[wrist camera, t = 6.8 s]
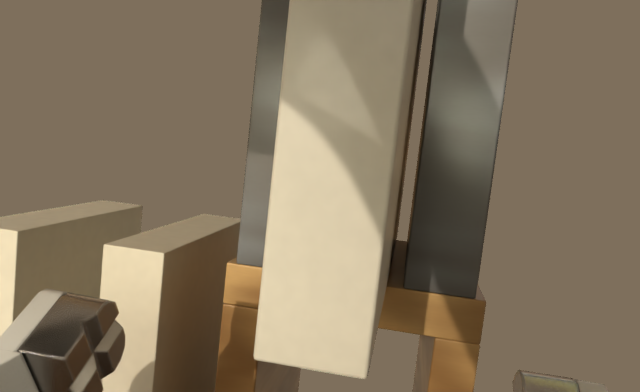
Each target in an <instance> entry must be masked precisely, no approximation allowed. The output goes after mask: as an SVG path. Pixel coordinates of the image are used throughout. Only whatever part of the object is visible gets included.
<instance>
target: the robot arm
mask: <svg viewBox="0 0 640 392" xmlns="http://www.w3.org/2000/svg"><path fill="white" fill-rule="evenodd" d="M118 314H119V311H118V308H117V305H116V302H114V301H109V300H104V299H99V298H95V297H90V296H85V295H80V294H75V293H70V292H64V291H59V290H53V289H48V288H46V289H44V290H42V291H40V292H39V293H38V294H37V295H36V296H35V297H34V298H33V299H32V301H31V302H30V303H29V304H28V305H27V306H26V308H25V309H24V310H23V311H22V312H21V313H20V314H19V316H18V317H17V318H16V319H15V320H14V321H13V323H12V324H11V325H10V326H9V327H8V328H7V330H6V331H5V332H4V333H3V334H2V335H1V337H0V392H102V391H103V383H102V379H103V378H104V377H106V376H108V375H109V374H111V373H112V372H114V371H115V369H116V368H117V366H118V364H119V362H120V361H121V358H122V355H123V351H124V348H125V333H124V329H123V327H122V326H121V325H120V324H119V323H118V322H117V321H116V320H115V319H116V317H117V316H118ZM513 391H514V392H608V389H607V388H606V386H605V385H604V384H599V383H592V382H587V381H581V380H573V379H572V378H567V377H560V376H554V375H548V374H541V373H535V372H529V371H522V370H518V372H517V373H516V374H515V377H514V380H513Z"/></svg>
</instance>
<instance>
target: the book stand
mask: <svg viewBox="0 0 640 392" xmlns="http://www.w3.org/2000/svg"><path fill="white" fill-rule="evenodd" d="M289 2H290V0H262V5H261V15H260V25H259V36H258V46H257V56H256V67H255V77H254V87H253V97H252V107H251V118H250V128H249V138H248V149H247V159H246V169H245V179H244V190H243V200H242V211H241V220H240V231H239V241H238V251H237V257H236V258H234V259H233V260H231V261H229V262H228V263H227V267H226V277H225V288H224V298H223V303H224V304H223V310H222V320H221V331H220V341H219V352H218V362H217V372H216V383H215V392H298V387H299V378H300V369H301V368H298V367H292V366H286V365H281V364H275V363H269V362H264V361H258V360H255V359H254V356H253V354H254V344H255V335H256V325H257V315H258V305H259V295H260V286H261V276H262V266H263V256H264V247H265V237H266V227H267V217H268V207H269V198H270V188H271V178H272V168H273V159H274V149H275V139H276V129H277V119H278V110H279V100H280V90H281V80H282V71H283V61H284V51H285V41H286V31H287V22H288V12H289ZM517 3H518V0H438V4H437V12H436V20H435V28H434V36H433V44H432V51H431V59H430V68H429V75H428V83H427V91H426V99H425V106H424V114H423V122H422V130H421V138H420V146H419V154H418V161H417V169H416V178H415V185H414V192H413V200H412V208H411V217H410V224H409V231H408V239H407V242H406V241H398V240H396V244H395V249H394V253H393V258H392V263H391V268H390V272H389V277H388V282H387V287H386V291H385V296H384V301H383V306H382V311H381V315H380V320H379V325H378V328H381V329H388V330H394V331H400V332H406V333H412V334H419V335H420V340H419V347H418V354H417V362H416V369H415V377H414V385H413V392H473V390H474V383H475V376H476V369H477V362H478V355H479V348H480V345H479V344H480V341H481V335H482V327H483V321H484V314H485V307H486V301H485V299H484V297H483V294H482V292H481V290H480V288H479V286H478V278H479V271H480V264H481V257H482V249H483V243H484V236H485V228H486V221H487V215H488V207H489V200H490V193H491V186H492V179H493V172H494V164H495V158H496V151H497V144H498V136H499V130H500V122H501V115H502V109H503V102H504V94H505V87H506V80H507V73H508V65H509V59H510V52H511V45H512V38H513V31H514V24H515V17H516V9H517Z"/></svg>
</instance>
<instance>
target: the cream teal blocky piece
mask: <svg viewBox="0 0 640 392" xmlns="http://www.w3.org/2000/svg"><path fill="white" fill-rule="evenodd" d="M142 208H143V206H142V205H135V204H127V203H121V202H113V201H106V200H101V201H95V202H89V203H83V204H77V205H70V206H64V207H59V208H52V209H46V210H40V211H33V212H27V213H21V214H15V215H9V216H3V217H0V337H1V335H2V334H3V333H4V332H5V331H6V330H7V328H8V327H9V326H10V325H11V324H12V323H13V321H14V320H15V319H16V318H17V317H18V316H19V314H20V313H21V312H22V311H23V310H24V309H25V308H26V306H27V305H28V304H29V303H30V302H31V301H32V299H33V298H34V297H35V296H36V295H37V294H38V293H39V292H40V291H42V290H44V289H46V288H48V289H53V290H59V291H64V292H70V293H75V294H80V295H85V296H90V297H95V298H99V299H104V300H109V301H114V302H116V305H117V308H118V311H119V314H118V316H117V317H116V319H115V320H116V321H117V322H118V323H119V324H120V325H121V326H122V327H123V329H124V333H125V348H124V351H123V355H122V358H121V361H120V362H119V364H118V366H117V368H116V369H115V371H114V372H112V373H111V374H109V375H108V376H106V377H104V378H103V379H102V383H103V391H102V392H215V383H216V372H217V362H218V352H219V341H220V331H221V320H222V310H223V304H224V303H223V298H224V288H225V277H226V267H227V263H228V262H229V261H231V260H233V259H234V258H236V257H237V251H238V241H239V231H240V220H241V219H238V218H230V217H222V216H216V215H207V214H202V215H198V216H196V217H192V218H189V219H186V220H182V221H179V222H176V223H172V224H169V225H166V226H163V227H159V228H156V229H153V230H150V231H146V232H143V233H141V219H142Z"/></svg>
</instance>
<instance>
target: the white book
mask: <svg viewBox="0 0 640 392" xmlns="http://www.w3.org/2000/svg"><path fill="white" fill-rule="evenodd" d="M426 3H427V0H290V2H289V12H288V22H287V31H286V41H285V51H284V61H283V71H282V80H281V90H280V100H279V110H278V119H277V129H276V139H275V149H274V159H273V168H272V178H271V188H270V198H269V207H268V217H267V227H266V237H265V247H264V256H263V266H262V276H261V286H260V295H259V305H258V315H257V325H256V335H255V344H254V354H253V356H254V359H255V360H258V361H264V362H269V363H275V364H281V365H286V366H292V367H298V368H303V369H309V370H315V371H320V372H326V373H332V374H338V375H344V376H349V377H355V378H360V379H366V378H367V376H368V372H369V368H370V363H371V358H372V354H373V349H374V344H375V339H376V334H377V329H378V325H379V320H380V315H381V311H382V306H383V301H384V296H385V291H386V287H387V282H388V277H389V272H390V268H391V263H392V258H393V253H394V249H395V244H396V239H397V232H398V225H399V217H400V209H401V202H402V194H403V185H404V177H405V170H406V161H407V154H408V146H409V138H410V130H411V122H412V114H413V105H414V98H415V90H416V82H417V74H418V66H419V58H420V51H421V43H422V34H423V26H424V19H425V11H426Z"/></svg>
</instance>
